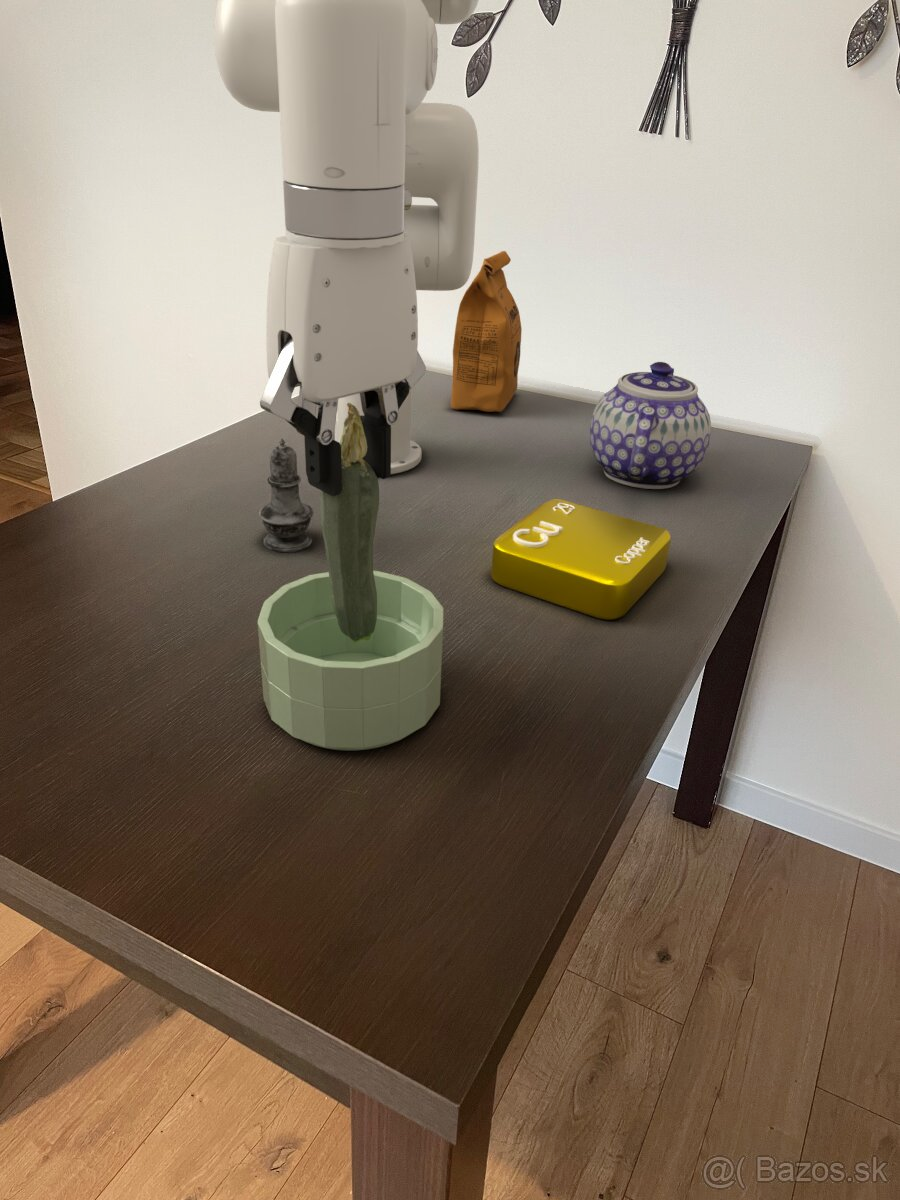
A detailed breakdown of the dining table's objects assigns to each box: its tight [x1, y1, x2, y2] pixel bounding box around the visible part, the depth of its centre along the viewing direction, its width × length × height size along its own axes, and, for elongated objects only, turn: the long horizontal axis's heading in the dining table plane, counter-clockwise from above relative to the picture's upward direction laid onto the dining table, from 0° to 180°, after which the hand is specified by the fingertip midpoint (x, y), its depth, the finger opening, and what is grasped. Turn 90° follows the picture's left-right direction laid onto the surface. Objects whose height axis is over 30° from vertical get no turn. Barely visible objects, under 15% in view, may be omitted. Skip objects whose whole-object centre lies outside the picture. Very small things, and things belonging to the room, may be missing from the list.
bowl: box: [256, 570, 444, 752], centre depth 76 cm, size 15×15×8 cm
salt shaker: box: [258, 438, 314, 553], centre depth 99 cm, size 6×6×12 cm
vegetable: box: [319, 403, 380, 643], centre depth 70 cm, size 4×4×20 cm
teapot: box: [589, 361, 712, 490], centre depth 118 cm, size 25×15×15 cm, turn 160°
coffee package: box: [450, 250, 522, 413], centre depth 139 cm, size 10×12×22 cm
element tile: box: [490, 498, 672, 621], centre depth 97 cm, size 15×15×5 cm
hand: (349, 478), depth 68 cm, fingers closed on vegetable, 3 cm apart
